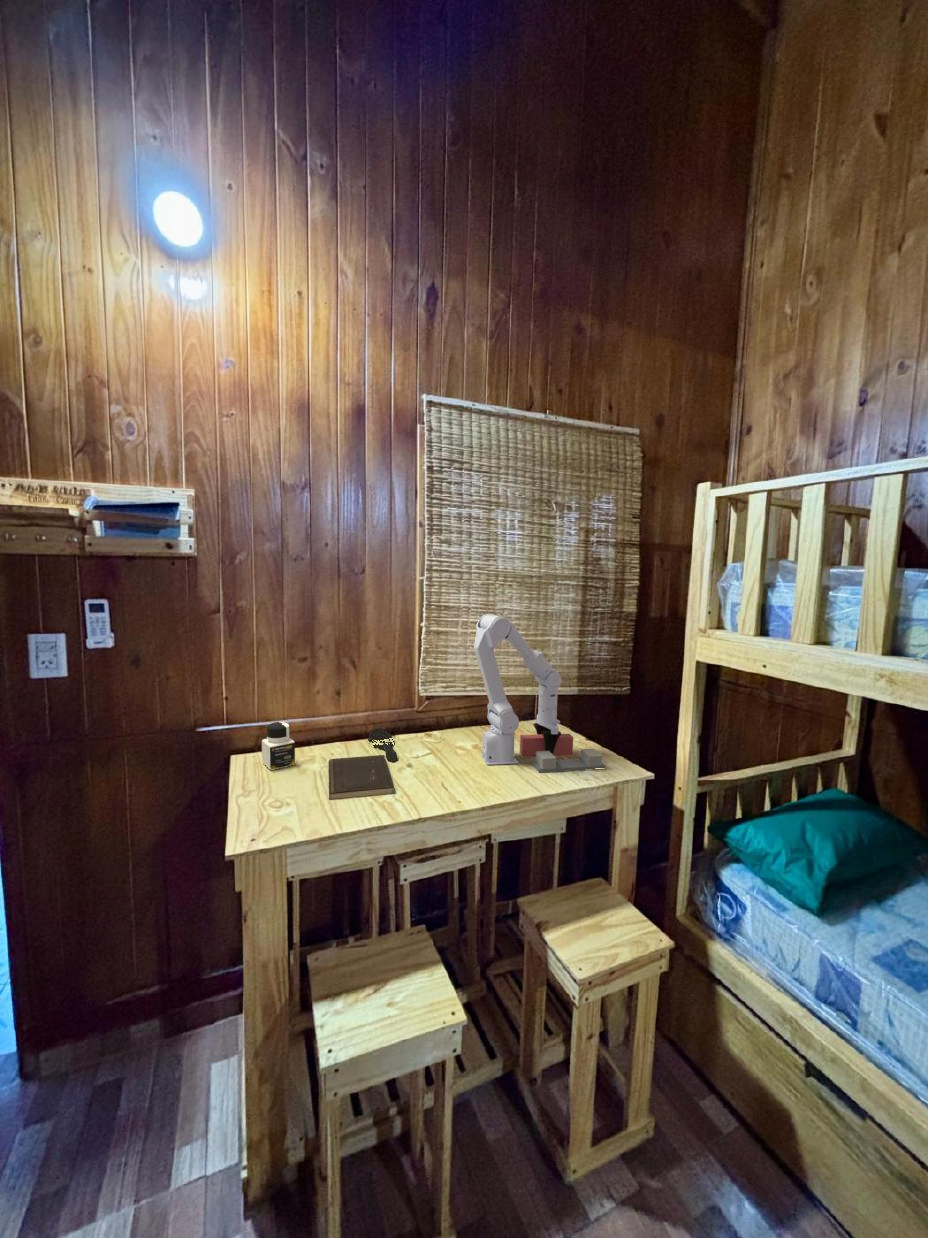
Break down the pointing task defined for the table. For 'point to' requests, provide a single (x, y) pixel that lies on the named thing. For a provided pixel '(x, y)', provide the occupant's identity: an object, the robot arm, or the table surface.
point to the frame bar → (537, 743)
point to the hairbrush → (381, 735)
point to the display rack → (567, 762)
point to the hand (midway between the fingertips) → (546, 749)
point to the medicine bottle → (278, 747)
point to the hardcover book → (359, 777)
